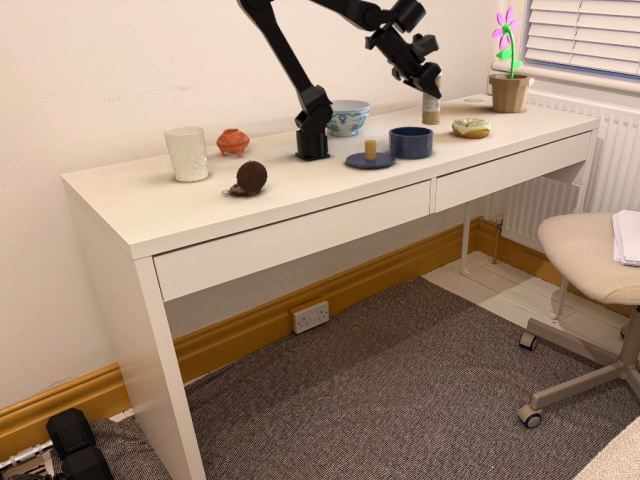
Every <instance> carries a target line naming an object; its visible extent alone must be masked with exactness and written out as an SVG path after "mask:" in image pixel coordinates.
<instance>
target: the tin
mask: <svg viewBox="0 0 640 480" xmlns="http://www.w3.org/2000/svg"><path fill="white" fill-rule="evenodd" d="M433 140H434V131H433V130H432V129H431V128H427V127H423V126H399V127H394V128H392V129H390V130H389V131H388V152H389V153H388V154H390V155H393V156H394V157H395V159H396V158H397V159H401V160H419V159H420V160H421V159H425V158H429V157H431V156H432V154H433V144H434V143H433V142H434V141H433Z"/></svg>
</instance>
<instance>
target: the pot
mask: <svg viewBox="0 0 640 480" xmlns="http://www.w3.org/2000/svg"><path fill="white" fill-rule="evenodd" d="M250 140H251V139H250V137H249V135H247V134H246V133H245V132H243V131H241V130H240V129H239V128H233V127H232V128H226V129H224V130H223V131H222V133H221V134H220V135H219V137H218V138H217V139H216V141H215V143H216V144H215V145H216V146H217V147H218V148H219V151H220V154H221V155H222V156H225V157H226V153H229V154H237V156H238V158H241V157H242V153H244V151H245V149H246V148H247V147H248V146H249V144H250Z"/></svg>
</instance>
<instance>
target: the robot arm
mask: <svg viewBox="0 0 640 480" xmlns="http://www.w3.org/2000/svg"><path fill="white" fill-rule="evenodd" d="M274 1H275V0H236V3H237V5H238V8H239V9H240V10H241V11H242V13H244V14H245V16H246V17H247V19H249V21H251V23H252V24H253V25H254V26H255V27H256V29H257V30H258V31H259V32H260V33H261V34H262V36H263V37H264V39H265V41H266V43H267V44H268V46H269V48H270V49H271V51H272V53H273V54H274V56H275V57H276V60H277V61H278V63H279V64H280V66H281V68H282V69H283V72H284V73H285V74H286V76H287V78H288V80H289V81H290V83H291V85H292V87H293V88H294V89H295V92H296V95H297V99H298V102H299V105H300V107H301V111H299V113H298V114H297V115H296V117H295V118H294V119H293V120H294V123H295V125H296V127H297V128H298V130H295V136H296V149H297V152H294V156H295V157H297V158H300V159H301V160H304V161H308V162H309V161H313V160H314V161H315V160H319V159H326V158H330V157H331V154H330V153H329V141H328V139H329V138H328V137H329V136H328V135H327V134H326V129H327V128H326V126H327V124H328V123H329V122H330V120H331V119H332V116H333V109H332V107H331V105H333V103H332V102H331V101H332V100H330V98H329V97H328V94H327V92H326V89H325V88H324V87H323V86H322V85H320V84H316V85H314V84H313V83H312V81H311V80H310V78H309V77H308V74H307V73H306V71H305V69H304V68H303V66H302V64H301V62H300V60H299V59H298V57H297V55H296V54H295V52H294V50H293V48H292V47H291V45H290V43H289V41H288V40H287V38H286V36H285V35H284V33H283V31H282V29H281V27H280V26H279V24H278V21H277V18H276V15H275V11H274V8H273V5H272V2H274ZM308 1H309V2H311V3H313V4H316V5H318V6H320V7H322V8H324V9H327V10H329V11H331V12H334V13H336V14H337V15H338V16H340V17H341V18H342V19H343V20H345V21H346V22H347V23H349V24H350V25H352V26H353V27H355V28H356V29H358V30H359V31H364V32H368V33H372V34H371V35H370V36H366V35H365V37H364V40H365V43H364V49H366V50H369V51H372V50H373V49H374V48H375V47H376V48H377V50H378V51H379V52H380V53H381V54H382V55H383V56H384V57H385V58H386V62H387V64H389V65H391V66H392V68H391V76H392V77H393V78H394V79H395V80H396V81H398V82H401V81H402V80H403V79H404V80H403V81H402V83H403V84H404V85H406V86H408V87H410V88H412V89H414V90H417V91H419V92H421V93H423V92H425V93H427V94H429V95H431V96H433V97H435V98H437V99H440V100H441V98H442V97H443V95H442V93H440V90H439V88H438V86H437V84H436V81H435V78H436V77H437V76H438V75H439V74H440V73H441V71H442V72H443V68H442V69H441V66H440V65H439V64H438V63H437V62H434V61H426V60H427V59H426V58H425V57H427V56H429V55H431V54H432V53H434V52H438V51H439V50H440V45H439V43H438V39H437V37H436V35H435V34H431V33H429V34H424V35H423V34H422V33H420V32H417V33H415V34H413V35H412V41H411V42H410V43H409V42H407V41H406V40H405V39H404V37H403V36H402V35H404V34H405V33H407V34H411V33H412V31H413V30H414V29H415V28H416V27H417V26H418V25H419V23H420V22H421V21H422V20H423V19H424V18H425V16H426V15H427V10H426V8H425V7H424V5H423V4H422V3H421V2H419V1H418V0H396V2H395V3H394V4H393V5H392V7H391V8H390V9H387V8H383V9H382V8H381V6H379V4H377V3H375V2H371V1H367V0H308ZM381 26H382V27H381ZM400 33H401V34H402V35H401V34H400ZM402 78H403V79H402Z"/></svg>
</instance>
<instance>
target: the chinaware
mask: <svg viewBox="0 0 640 480" xmlns="http://www.w3.org/2000/svg"><path fill="white" fill-rule="evenodd" d="M330 101H331V102H332V103H333V105H331V107H332V109H333V116H332V119H331V120H330V122H329V123H328V124H327V126H326V129H328V130H329V131H331V135H332V136H335V137H352V136H355V135H357V131H358V130H359V129H360V128H361V127H363V126H364V124H365V123H366V122H367V120H368V117H369V114H370V111H371V103H370V102H368V101H364V100H358V99H357V100H355V99H334V100H330Z"/></svg>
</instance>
